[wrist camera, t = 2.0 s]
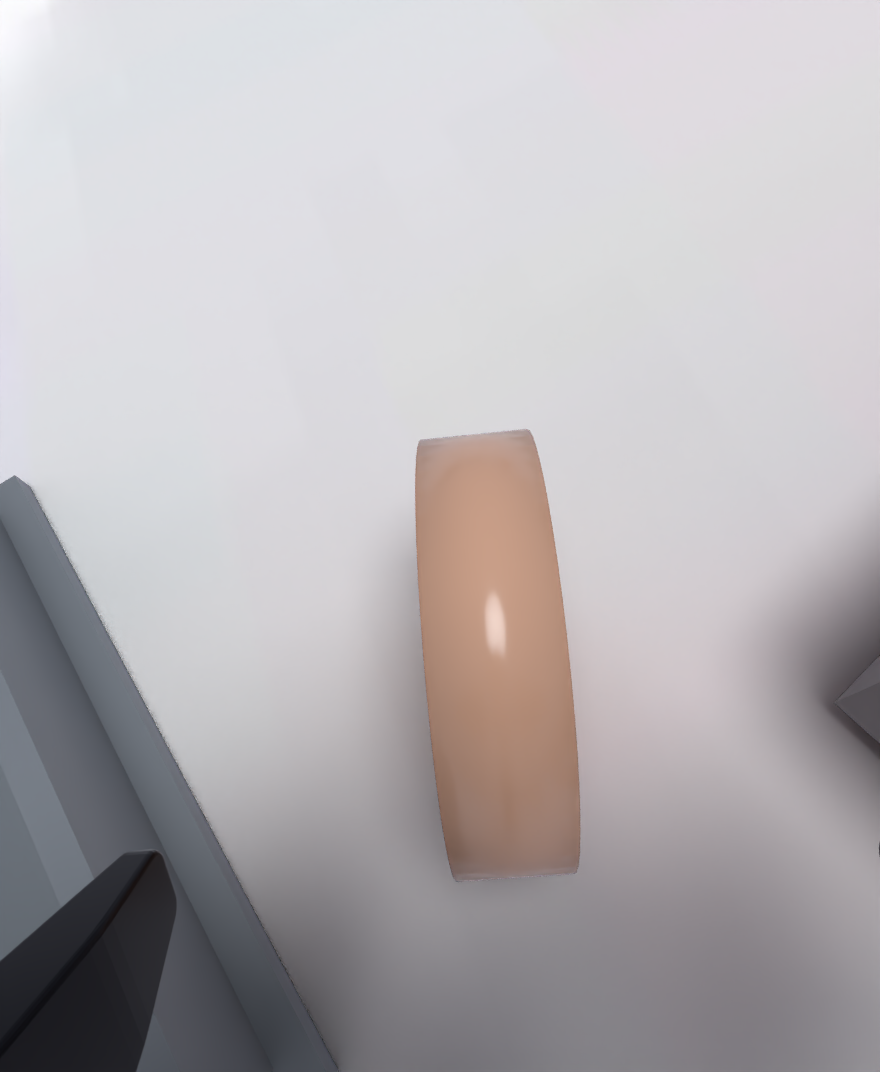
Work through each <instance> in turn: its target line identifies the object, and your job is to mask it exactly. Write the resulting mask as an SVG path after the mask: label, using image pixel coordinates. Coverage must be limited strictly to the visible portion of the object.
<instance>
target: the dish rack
mask: <svg viewBox="0 0 880 1072" xmlns="http://www.w3.org/2000/svg"><path fill="white" fill-rule="evenodd" d="M147 849H155V850H158V851H160V852H161V853H162V855H163V857H164V860H165V863H166V866H167V869H168V872H169V875H170V878H171V881H172V884H173V887H174V890H175V893H176V898H177V912H176V918H175V922H174V927H173V931H172V935H171V939H170V943H169V948H168V952H167V956H166V960H165V964H164V969H163V973H162V977H161V981H160V986H159V990H158V994H157V998H156V1002H155V1007H154V1011H153V1015H152V1019H151V1023H150V1027H149V1031H148V1035H147V1039H146V1042H145V1046H144V1049H143V1052H142V1055H141V1059H140V1062H139V1065H138V1068H137V1071H136V1072H339V1071H338V1069H337V1067H336V1065H335V1063H334V1061H333V1059H332V1058H331V1056H330V1054H329V1052H328V1050H327V1048H326V1046H325V1044H324V1042H323V1040H322V1039H321V1037H320V1035H319V1033H318V1031H317V1029H316V1027H315V1025H314V1023H313V1022H312V1020H311V1018H310V1016H309V1014H308V1012H307V1010H306V1008H305V1006H304V1005H303V1003H302V1001H301V999H300V997H299V995H298V993H297V991H296V989H295V988H294V986H293V984H292V982H291V980H290V978H289V976H288V974H287V972H286V970H285V969H284V967H283V965H282V963H281V961H280V959H279V957H278V955H277V953H276V952H275V950H274V948H273V946H272V944H271V942H270V940H269V938H268V936H267V935H266V933H265V931H264V929H263V927H262V925H261V923H260V921H259V919H258V918H257V916H256V914H255V912H254V910H253V908H252V906H251V904H250V902H249V900H248V899H247V897H246V895H245V893H244V891H243V889H242V887H241V885H240V883H239V882H238V880H237V878H236V876H235V874H234V872H233V870H232V868H231V866H230V865H229V863H228V861H227V859H226V857H225V855H224V853H223V851H222V849H221V848H220V846H219V844H218V842H217V840H216V838H215V836H214V834H213V832H212V830H211V829H210V827H209V825H208V823H207V821H206V819H205V817H204V815H203V813H202V812H201V810H200V808H199V806H198V804H197V802H196V800H195V798H194V796H193V795H192V793H191V791H190V789H189V787H188V785H187V783H186V781H185V779H184V777H183V776H182V774H181V772H180V770H179V768H178V766H177V764H176V762H175V760H174V759H173V757H172V755H171V753H170V751H169V749H168V747H167V745H166V743H165V742H164V740H163V738H162V736H161V734H160V732H159V730H158V728H157V726H156V725H155V723H154V721H153V719H152V717H151V715H150V713H149V711H148V709H147V707H146V706H145V704H144V702H143V700H142V698H141V696H140V694H139V692H138V690H137V689H136V687H135V685H134V683H133V681H132V679H131V677H130V675H129V673H128V672H127V670H126V668H125V666H124V664H123V662H122V660H121V658H120V656H119V655H118V653H117V651H116V649H115V647H114V645H113V643H112V641H111V639H110V637H109V636H108V634H107V632H106V630H105V628H104V626H103V624H102V622H101V620H100V619H99V617H98V615H97V613H96V611H95V609H94V607H93V605H92V603H91V602H90V600H89V598H88V596H87V594H86V592H85V590H84V588H83V586H82V584H81V583H80V581H79V579H78V577H77V575H76V573H75V571H74V569H73V567H72V566H71V564H70V562H69V560H68V558H67V556H66V554H65V552H64V550H63V549H62V547H61V545H60V543H59V541H58V539H57V537H56V535H55V533H54V532H53V530H52V528H51V526H50V524H49V522H48V520H47V518H46V516H45V514H44V513H43V511H42V509H41V507H40V505H39V503H38V501H37V499H36V497H35V496H34V494H33V492H32V490H31V488H30V486H28V485H27V484H26V483H25V482H23V481H22V480H21V479H19V478H18V477H17V476H13V477H11V478H10V479H8V480H6V481H5V482H3V483H1V484H0V960H1V959H3V958H4V957H5V956H6V955H7V954H8V953H9V952H11V951H12V950H13V949H14V948H15V947H16V946H18V945H19V944H20V943H21V942H22V941H23V940H24V939H26V938H27V937H28V936H29V935H30V934H31V933H32V932H34V931H35V930H36V929H37V928H38V927H39V926H40V925H42V924H43V923H44V922H45V921H46V920H47V919H49V918H50V917H51V916H52V915H53V914H54V913H55V912H57V911H58V910H59V909H60V908H61V907H62V906H63V905H65V904H66V903H67V902H68V901H69V900H70V899H72V898H73V897H74V896H75V895H76V894H77V893H78V892H80V891H81V890H82V889H83V888H84V887H85V886H86V885H88V884H89V883H90V882H91V881H92V880H93V879H95V878H96V877H97V876H98V875H99V874H100V873H101V872H103V871H104V870H105V869H106V868H107V867H108V866H109V865H111V864H112V863H113V862H114V861H115V860H116V859H118V858H119V857H120V856H121V855H123V854H124V853H126V852H128V851H133V850H147Z"/></svg>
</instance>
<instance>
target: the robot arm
mask: <svg viewBox="0 0 880 1072" xmlns="http://www.w3.org/2000/svg"><path fill="white" fill-rule="evenodd" d="M879 855H880V843H879ZM176 912H177V898H176V893H175V890H174V887H173V884H172V881H171V878H170V875H169V872H168V869H167V866H166V863H165V860H164V857H163V855H162V853H161V852H160V851H158V850H155V849H147V850H133V851H128V852H126V853H124V854H123V855H121V856H120V857H119V858H118V859H116V860H115V861H114V862H113V863H112V864H111V865H109V866H108V867H107V868H106V869H105V870H104V871H103V872H101V873H100V874H99V875H98V876H97V877H96V878H95V879H93V880H92V881H91V882H90V883H89V884H88V885H86V886H85V887H84V888H83V889H82V890H81V891H80V892H78V893H77V894H76V895H75V896H74V897H73V898H72V899H70V900H69V901H68V902H67V903H66V904H65V905H63V906H62V907H61V908H60V909H59V910H58V911H57V912H55V913H54V914H53V915H52V916H51V917H50V918H49V919H47V920H46V921H45V922H44V923H43V924H42V925H40V926H39V927H38V928H37V929H36V930H35V931H34V932H32V933H31V934H30V935H29V936H28V937H27V938H26V939H24V940H23V941H22V942H21V943H20V944H19V945H18V946H16V947H15V948H14V949H13V950H12V951H11V952H9V953H8V954H7V955H6V956H5V957H4V958H3V959H1V960H0V1072H136V1071H137V1068H138V1065H139V1062H140V1059H141V1055H142V1052H143V1049H144V1046H145V1042H146V1039H147V1035H148V1031H149V1027H150V1023H151V1019H152V1015H153V1011H154V1007H155V1002H156V998H157V994H158V990H159V986H160V981H161V977H162V973H163V969H164V964H165V960H166V956H167V952H168V948H169V943H170V939H171V935H172V931H173V927H174V922H175V918H176Z"/></svg>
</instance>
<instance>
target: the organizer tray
mask: <svg viewBox="0 0 880 1072" xmlns="http://www.w3.org/2000/svg"><path fill="white" fill-rule="evenodd" d="M834 703H835V704H836V705H837V706H838V707H839V708H840V709H841V710H843V711H844V712H845V713H846V714H847V715H848V716H849V717H850V718H852V719H853V720H854V721H855V722H856V723H857V724H858V725H859V726H860V727H862V728H863V729H864V730H865V731H866V732H867V733H868V734H869V735H871V736H872V737H873V738H874V739H875V740H876V741H877V742H878V743H879V744H880V655H879V656H878V658H877V659H876V660H875V661H874V662H873V663H872V664H871V665H870V666H869V667H868V668H867V669H866V670H865V671H864V672H863V673H862V674H861V675H860V676H859V677H858V678H857V679H856V680H855V681H854V682H853V684H852V685H851V686H850V687H849V688H848V689H847V690H846V691H845V692H844V693H843V694H842V695H841V696H840V697H839V698H838V699H837V700H836V701H835V702H834Z"/></svg>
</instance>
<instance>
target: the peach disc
mask: <svg viewBox="0 0 880 1072" xmlns="http://www.w3.org/2000/svg"><path fill="white" fill-rule="evenodd" d="M415 510H416V545H417V566H418V585H419V601H420V617H421V631H422V645H423V657H424V669H425V681H426V693H427V703H428V713H429V723H430V733H431V742H432V751H433V760H434V769H435V777H436V785H437V793H438V800H439V807H440V814H441V821H442V827H443V833H444V839H445V845H446V850H447V855H448V860H449V864H450V868H451V871H452V875H453V877H454V879H455V881H457V882H463V881H478V880H493V879H508V878H523V877H538V876H553V875H568V874H575V873H576V872H577V869H578V865H579V856H580V795H579V774H578V756H577V742H576V728H575V715H574V704H573V692H572V681H571V671H570V662H569V652H568V642H567V633H566V625H565V616H564V608H563V599H562V592H561V584H560V577H559V569H558V562H557V555H556V548H555V541H554V534H553V528H552V522H551V516H550V510H549V504H548V499H547V493H546V488H545V483H544V478H543V473H542V468H541V464H540V459H539V456H538V452H537V448H536V444H535V442H534V439H533V436H532V434H531V432H530V430H528V429H522V430H512V431H502V432H492V433H482V434H472V435H462V436H453V437H443V438H433V439H423V440H420V441H419V443H418V447H417V455H416V474H415Z"/></svg>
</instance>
